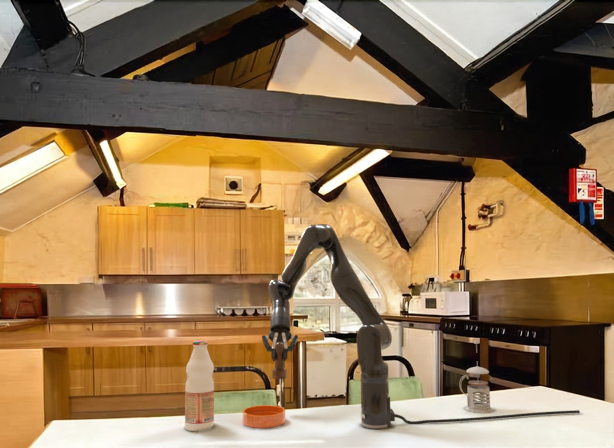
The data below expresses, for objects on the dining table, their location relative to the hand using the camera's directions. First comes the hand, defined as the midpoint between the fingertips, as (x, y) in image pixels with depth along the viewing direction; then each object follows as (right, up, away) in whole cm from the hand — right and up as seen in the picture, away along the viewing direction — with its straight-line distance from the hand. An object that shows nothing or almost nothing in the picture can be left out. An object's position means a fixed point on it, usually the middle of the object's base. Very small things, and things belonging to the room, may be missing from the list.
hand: (279, 359), depth 186 cm
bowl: (-5, -19, -10) cm, 22 cm away
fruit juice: (-26, -19, -13) cm, 35 cm away
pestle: (0, -7, +1) cm, 7 cm away
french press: (+72, -20, +7) cm, 75 cm away
